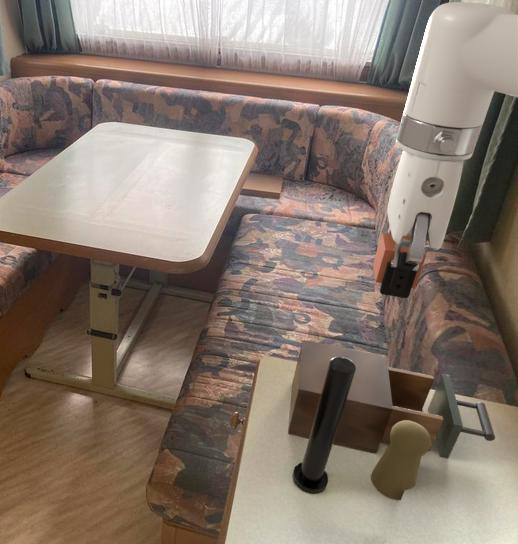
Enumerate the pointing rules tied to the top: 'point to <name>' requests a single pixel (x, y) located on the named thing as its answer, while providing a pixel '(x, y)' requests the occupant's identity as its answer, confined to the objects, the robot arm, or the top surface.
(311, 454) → the stand
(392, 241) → the block
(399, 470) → the cork
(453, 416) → the drawer
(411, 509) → the top surface
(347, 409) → the cabinet
